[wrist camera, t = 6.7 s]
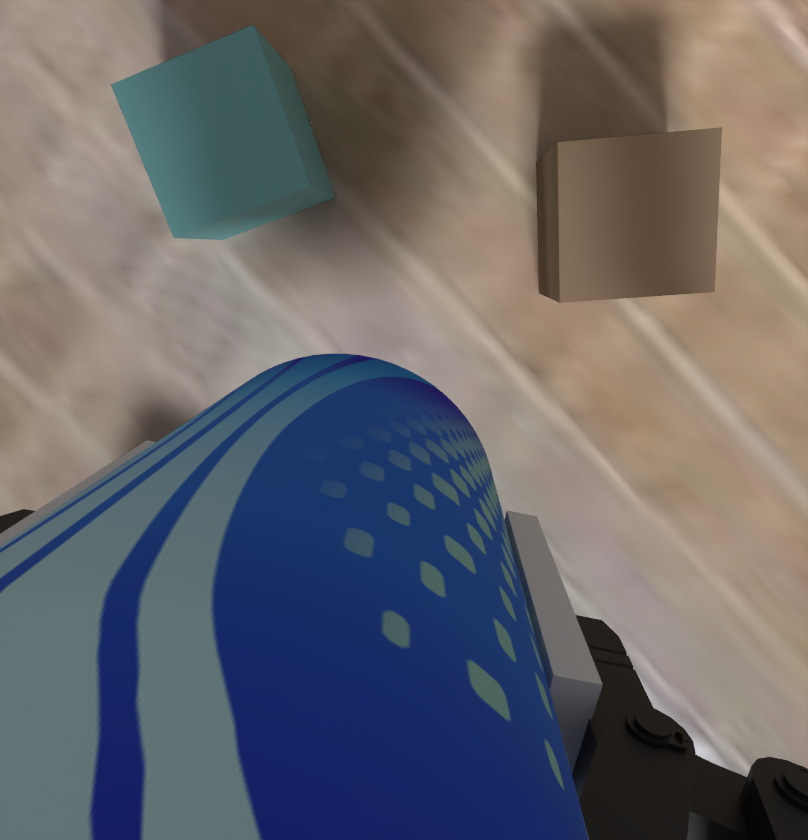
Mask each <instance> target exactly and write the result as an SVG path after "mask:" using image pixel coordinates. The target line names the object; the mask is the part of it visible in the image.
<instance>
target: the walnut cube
mask: <svg viewBox="0 0 808 840" xmlns="http://www.w3.org/2000/svg"><path fill="white" fill-rule="evenodd" d="M721 134H722V128H711V129H700V130H689V131H677V132H666V133H655V134H643V135H632V136H621V137H609V138H598V139H587V140H576V141H564V142H557V143H556V144H555V145H554V146H553V147H552V148H551V149H550V150H549V151H548V152H547V153H546V154H545V155H544V156H543V157H542V158H541V159H540V160H539V161H538V162H537V163H536V171H537V218H538V264H539V293H540V294H542V295H544V296H546V297H548V298H551V299H553V300H555V301H557V302H560V303H562V302H576V301H591V300H605V299H619V298H634V297H648V296H663V295H677V294H691V293H706V292H714V290H715V268H716V246H717V223H718V201H719V178H720V156H721Z"/></svg>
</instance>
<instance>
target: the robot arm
mask: <svg viewBox="0 0 808 840" xmlns="http://www.w3.org/2000/svg"><path fill="white" fill-rule="evenodd" d="M154 443H156V442H153V441H148V440H147V441H145V442H143V443H142V444H140V445H139V446H137V447H136V448H134V449H132V450H131V451H129V452H128V453H126V454H125V455H123V456H121V457H120V458H118V459H117V460H115V461H114V462H112V463H110V464H109V465H107V466H106V467H104V468H103V469H101V470H99V471H98V472H96V473H95V474H93V475H92V476H90V477H88V478H87V479H85V480H84V481H82V482H81V483H79V484H77V485H76V486H74V487H73V488H71V489H70V490H68V491H66V492H65V493H63V494H62V495H60V496H59V497H57V498H56V499H54V500H52V501H51V502H49V503H48V504H46V505H45V506H43V507H41V508H40V509H38V510H37V511H31V510H26V509H23V510H19V511H16V512H13V513H9V514H6V515H3V516H0V546H1V545H2V544H4V543H5V542H7V541H8V540H10V539H11V538H13V537H14V536H16V535H17V534H19V533H20V532H22V531H23V530H25V529H26V528H28V527H29V526H31V525H32V524H34V523H35V522H37V521H38V520H40V519H41V518H43V517H45V516H46V515H48V514H49V513H51V512H52V511H54V510H55V509H57V508H58V507H60V506H61V505H63V504H64V503H66V502H67V501H69V500H70V499H72V498H73V497H75V496H76V495H78V494H79V493H81V492H82V491H84V490H85V489H87V488H88V487H90V486H91V485H93V484H94V483H96V482H97V481H99V480H100V479H102V478H103V477H105V476H106V475H108V474H109V473H111V472H112V471H114V470H115V469H117V468H118V467H120V466H121V465H123V464H124V463H126V462H127V461H129V460H130V459H132V458H133V457H135V456H136V455H138V454H139V453H141V452H142V451H144V450H145V449H147V448H148V447H150V446H151V445H153V444H154ZM505 525H506V528H507V532H508V536H509V540H510V543H511V547H512V551H513V555H514V559H515V562H516V566H517V570H518V574H519V577H520V581H521V585H522V589H523V592H524V596H525V600H526V604H527V607H528V611H529V615H530V619H531V622H532V626H533V630H534V634H535V638H536V641H537V645H538V649H539V653H540V656H541V660H542V664H543V668H544V671H545V675H546V679H547V683H548V686H549V690H550V694H551V698H552V701H553V705H554V709H555V713H556V717H557V720H558V724H559V728H560V732H561V735H562V739H563V743H564V747H565V750H566V754H567V758H568V762H569V765H570V769H571V773H572V777H573V780H574V784H575V788H576V792H577V796H578V799H579V803H580V807H581V811H582V814H583V818H584V822H585V826H586V829H587V833H588V837H589V840H808V769H807V768H805V767H803V766H800V765H797V764H794V763H792V762H789V761H787V760H783V759H778V758H772V757H766V758H760V759H757V760H756V761H755V763H754V764H753V765H752V766H751V769H750V771H749V774H748V777H745V776H742V775H740V774H738V773H735V772H733V771H730V770H728V769H725V768H723V767H721V766H718V765H716V764H713V763H711V762H709V761H707V760H705V759H703V758H701V757H699V756H697V755H695V748H694V744H693V741H692V739H691V738H690V736H689V735H688V734H687V732H686V731H685V729H684V728H683V727H681V726H680V725H679V724H678V723H677V722H675V721H674V720H673V719H672V718H671V717H669V716H667V715H665V714H664V713H662V712H660V711H658V710H656V709H654V708H653V706H652V704H651V702H650V700H649V698H648V696H647V694H646V692H645V690H644V688H643V686H642V683H641V681H640V679H639V677H638V675H637V673H636V671H635V670H633V665H632V663H631V661H630V659H629V657H628V656H626V654H627V653H626V650H625V648H624V646H623V644H622V642H621V640H620V638H619V636H618V635H617V634H616V633H615V632H614V631H613V630H612V629H610V628H609V627H608V626H607V625H606V624H605V623H604V622H603V621H602V620H598V619H593V618H588V617H583V616H578V615H575V613H574V610H573V608H572V605H571V603H570V600H569V598H568V595H567V592H566V590H565V587H564V585H563V582H562V580H561V577H560V575H559V572H558V570H557V567H556V564H555V562H554V559H553V557H552V554H551V552H550V549H549V547H548V544H547V542H546V539H545V536H544V534H543V531H542V529H541V526H540V524H539V521H538V519H537V517H536V516H531V515H526V514H521V513H516V512H511V511H507V513H506V517H505Z"/></svg>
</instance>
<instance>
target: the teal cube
mask: <svg viewBox="0 0 808 840" xmlns="http://www.w3.org/2000/svg"><path fill="white" fill-rule="evenodd" d="M111 86H112V88H113V91H114V93H115V96H116V98H117V100H118V103H119V105H120V108H121V110H122V113H123V115H124V117H125V120H126V122H127V125H128V127H129V130H130V132H131V135H132V137H133V139H134V142H135V144H136V147H137V149H138V152H139V154H140V156H141V159H142V161H143V164H144V166H145V169H146V171H147V174H148V176H149V178H150V181H151V183H152V186H153V188H154V191H155V193H156V195H157V198H158V200H159V203H160V205H161V208H162V210H163V213H164V215H165V217H166V220H167V222H168V225H169V227H170V230H171V232H172V234H173V237H174V238H189V239H214V240H223V239H226V238H229V237H231V236H234V235H237V234H239V233H242V232H245V231H247V230H250V229H253V228H256V227H258V226H261V225H264V224H266V223H269V222H272V221H274V220H277V219H280V218H282V217H285V216H288V215H290V214H293V213H296V212H298V211H301V210H304V209H306V208H309V207H312V206H315V205H317V204H320V203H323V202H325V201H328V200H331V199H333V198H335V195H334V192H333V189H332V186H331V183H330V181H329V178H328V175H327V172H326V169H325V166H324V163H323V160H322V158H321V155H320V152H319V149H318V146H317V143H316V140H315V138H314V135H313V132H312V129H311V126H310V123H309V120H308V117H307V115H306V112H305V109H304V106H303V103H302V100H301V97H300V95H299V92H298V89H297V86H296V83H295V80H294V77H293V74H292V72H291V69H290V67H289V66H288V65H287V63H286V62H285V61H284V60H283V59H282V58H281V56H280V55H279V54H278V53H277V52H276V51H275V49H274V48H273V47H272V46H271V45H270V44H269V43H268V41H267V40H266V39H265V38H264V37H263V36H262V34H261V33H260V32H259V31H258V30H257V29H256V27H255V26H254V25H251V26H249V27H246V28H244V29H242V30H239V31H237V32H235V33H232V34H230V35H228V36H225V37H223V38H220V39H218V40H216V41H213V42H211V43H209V44H206V45H204V46H201V47H199V48H197V49H194V50H192V51H190V52H187V53H185V54H182V55H180V56H178V57H175V58H173V59H171V60H168V61H166V62H163V63H161V64H159V65H156V66H154V67H152V68H149V69H147V70H144V71H142V72H140V73H137V74H135V75H133V76H130V77H128V78H126V79H123V80H121V81H118V82H116V83H114V84H111Z"/></svg>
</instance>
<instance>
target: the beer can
mask: <svg viewBox="0 0 808 840" xmlns="http://www.w3.org/2000/svg"><path fill="white" fill-rule="evenodd" d="M0 840H589V837H588V833H587V829H586V826H585V822H584V818H583V814H582V811H581V807H580V803H579V799H578V796H577V792H576V788H575V784H574V780H573V777H572V773H571V769H570V765H569V762H568V758H567V754H566V750H565V747H564V743H563V739H562V735H561V732H560V728H559V724H558V720H557V717H556V713H555V709H554V705H553V701H552V698H551V694H550V690H549V686H548V683H547V679H546V675H545V671H544V668H543V664H542V660H541V656H540V653H539V649H538V645H537V641H536V638H535V634H534V630H533V626H532V622H531V619H530V615H529V611H528V607H527V604H526V600H525V596H524V592H523V589H522V585H521V581H520V577H519V574H518V570H517V566H516V562H515V559H514V555H513V551H512V547H511V543H510V540H509V536H508V532H507V528H506V525H505V521H504V517H503V513H502V510H501V506H500V502H499V498H498V495H497V491H496V487H495V483H494V480H493V476H492V472H491V469H490V465H489V462H488V458H487V456H486V453H485V451H484V448H483V446H482V444H481V442H480V440H479V438H478V436H477V434H476V432H475V430H474V429H473V427H472V426H471V424H470V423H469V421H468V420H467V418H466V417H465V416H464V415H463V414H462V412H461V411H460V410H459V409H458V407H457V406H456V405H455V404H454V403H453V402H452V401H451V400H450V399H449V398H448V397H447V396H446V395H444V394H443V393H442V392H441V391H440V390H438V389H437V388H436V387H435V386H433V385H432V384H430V383H429V382H427V381H426V380H424V379H423V378H421V377H420V376H418V375H416V374H414V373H412V372H410V371H409V370H407V369H404V368H402V367H400V366H397V365H395V364H392V363H389V362H386V361H383V360H379V359H376V358H371V357H366V356H361V355H352V354H322V355H312V356H307V357H302V358H298V359H294V360H291V361H288V362H284V363H282V364H279V365H277V366H274V367H272V368H270V369H268V370H266V371H264V372H262V373H260V374H259V375H257V376H255V377H254V378H252V379H251V380H249V381H248V382H246V383H245V384H243V385H242V386H240V387H239V388H237V389H236V390H234V391H233V392H231V393H230V394H228V395H227V396H225V397H224V398H222V399H221V400H219V401H218V402H216V403H215V404H213V405H212V406H210V407H209V408H207V409H205V410H204V411H202V412H201V413H199V414H198V415H196V416H195V417H193V418H192V419H190V420H189V421H187V422H186V423H184V424H183V425H181V426H180V427H178V428H177V429H175V430H174V431H172V432H171V433H169V434H168V435H166V436H165V437H163V438H162V439H160V440H159V441H157V442H156V443H154V444H153V445H151V446H150V447H148V448H147V449H145V450H144V451H142V452H141V453H139V454H138V455H136V456H135V457H133V458H132V459H130V460H129V461H127V462H126V463H124V464H123V465H121V466H120V467H118V468H117V469H115V470H114V471H112V472H111V473H109V474H108V475H106V476H105V477H103V478H102V479H100V480H99V481H97V482H96V483H94V484H93V485H91V486H90V487H88V488H87V489H85V490H84V491H82V492H81V493H79V494H78V495H76V496H75V497H73V498H72V499H70V500H69V501H67V502H66V503H64V504H63V505H61V506H60V507H58V508H57V509H55V510H54V511H52V512H51V513H49V514H48V515H46V516H45V517H43V518H41V519H40V520H38V521H37V522H35V523H34V524H32V525H31V526H29V527H28V528H26V529H25V530H23V531H22V532H20V533H19V534H17V535H16V536H14V537H13V538H11V539H10V540H8V541H7V542H5V543H4V544H2V545H1V546H0Z"/></svg>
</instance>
